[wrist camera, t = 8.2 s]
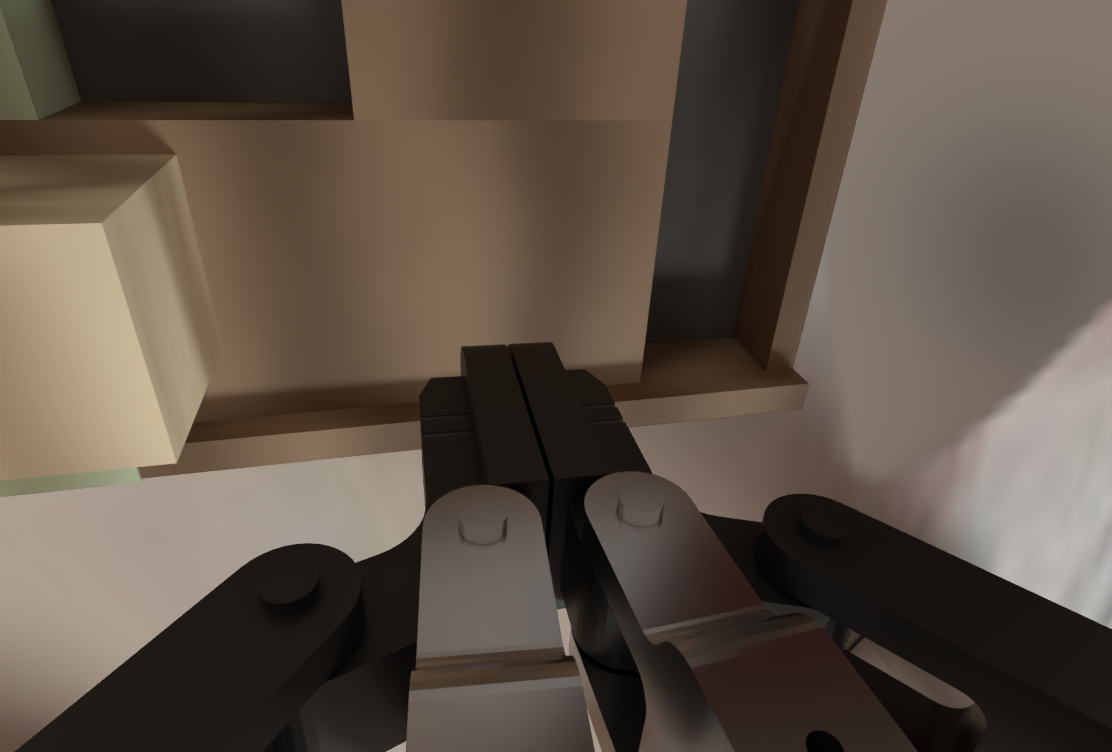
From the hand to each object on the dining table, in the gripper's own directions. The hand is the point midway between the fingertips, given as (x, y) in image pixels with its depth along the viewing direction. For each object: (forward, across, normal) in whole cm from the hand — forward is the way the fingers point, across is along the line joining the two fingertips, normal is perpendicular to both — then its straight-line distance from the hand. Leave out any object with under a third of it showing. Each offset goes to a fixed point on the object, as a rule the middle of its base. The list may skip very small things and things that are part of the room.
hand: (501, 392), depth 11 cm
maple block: (+8, +9, 0) cm, 12 cm away
